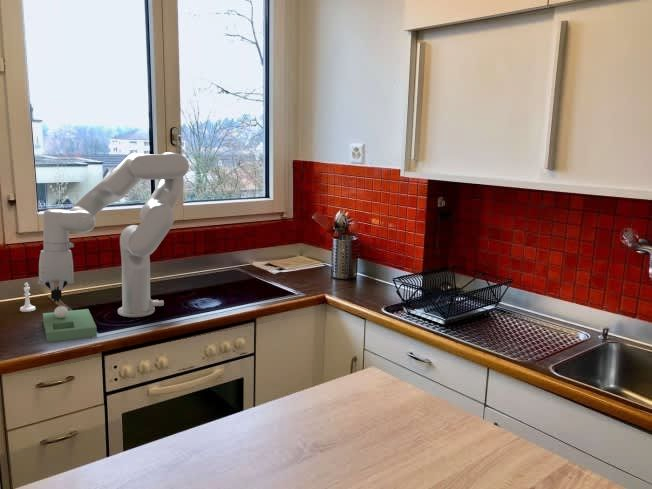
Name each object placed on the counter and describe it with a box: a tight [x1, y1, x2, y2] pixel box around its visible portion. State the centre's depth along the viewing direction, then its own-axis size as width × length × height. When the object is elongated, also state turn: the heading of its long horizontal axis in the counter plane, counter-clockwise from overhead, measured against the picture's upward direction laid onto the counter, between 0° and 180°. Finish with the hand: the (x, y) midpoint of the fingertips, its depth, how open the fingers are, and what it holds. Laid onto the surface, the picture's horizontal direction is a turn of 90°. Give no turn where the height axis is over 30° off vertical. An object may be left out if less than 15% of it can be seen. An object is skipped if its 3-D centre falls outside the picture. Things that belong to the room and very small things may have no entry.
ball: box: [53, 305, 69, 318], centre depth 179 cm, size 4×4×4 cm
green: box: [42, 308, 98, 343], centre depth 178 cm, size 14×20×3 cm
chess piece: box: [19, 281, 37, 313], centre depth 194 cm, size 5×5×10 cm
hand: (56, 300), depth 183 cm, fingers closed
